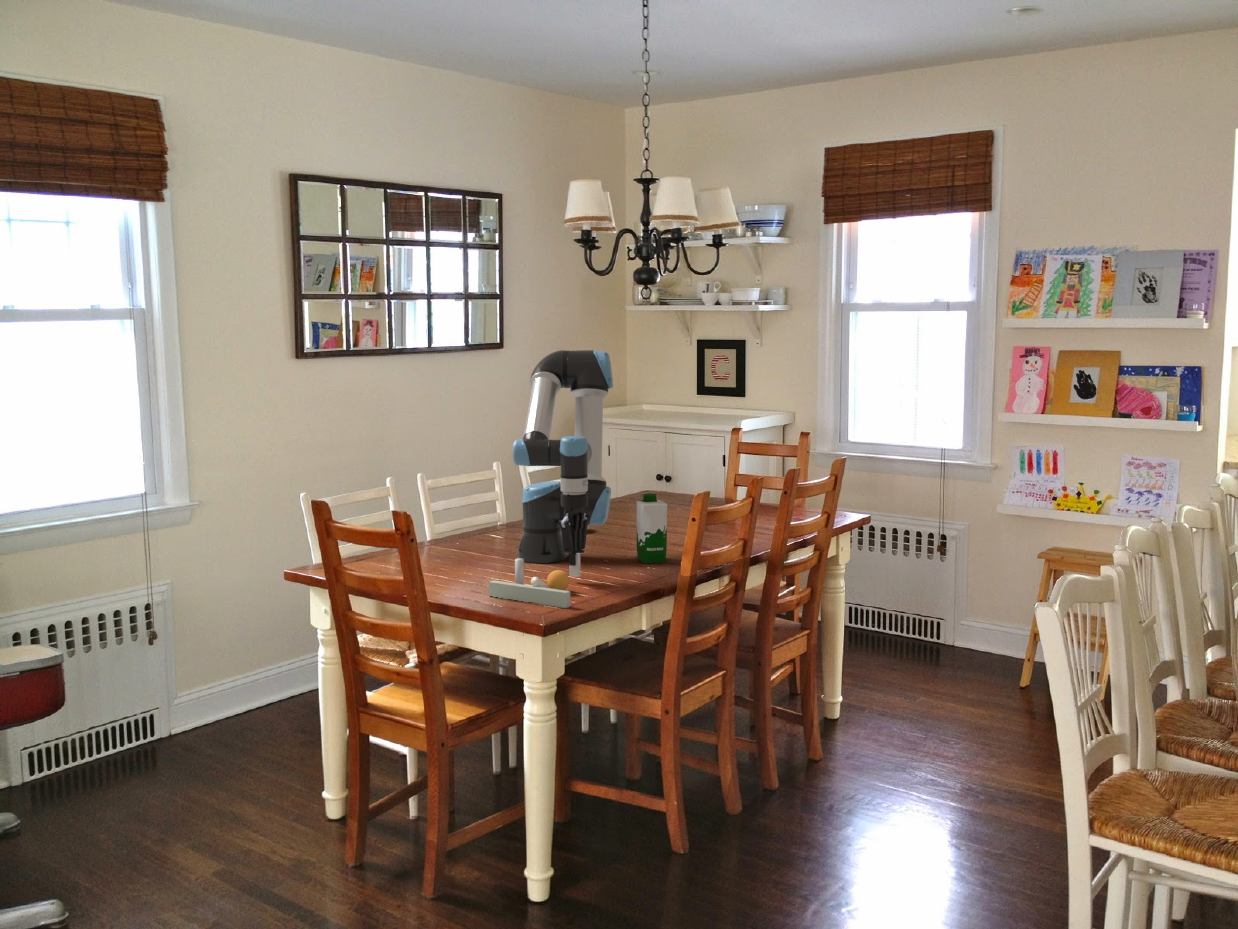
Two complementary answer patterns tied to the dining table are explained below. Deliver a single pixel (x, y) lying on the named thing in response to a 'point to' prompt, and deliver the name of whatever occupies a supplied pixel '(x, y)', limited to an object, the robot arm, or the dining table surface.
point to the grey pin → (519, 571)
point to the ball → (558, 580)
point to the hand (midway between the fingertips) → (574, 576)
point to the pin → (538, 582)
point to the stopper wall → (530, 594)
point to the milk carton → (651, 529)
